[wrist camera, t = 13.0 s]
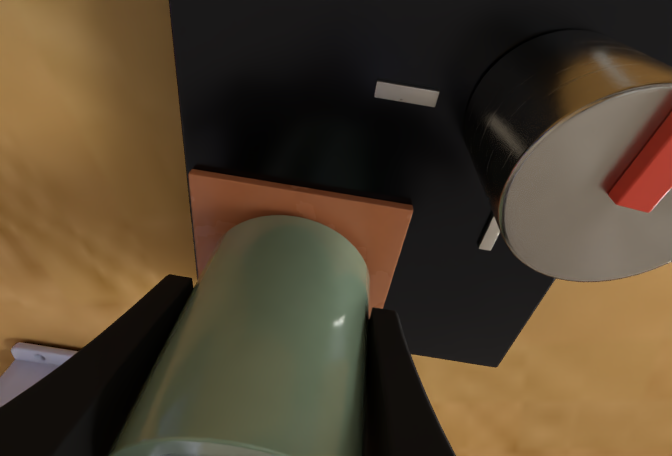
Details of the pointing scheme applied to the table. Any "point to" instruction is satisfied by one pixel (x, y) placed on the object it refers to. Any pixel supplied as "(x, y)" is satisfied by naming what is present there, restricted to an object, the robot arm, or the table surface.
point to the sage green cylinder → (262, 351)
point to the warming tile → (318, 205)
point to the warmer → (385, 129)
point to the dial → (577, 155)
